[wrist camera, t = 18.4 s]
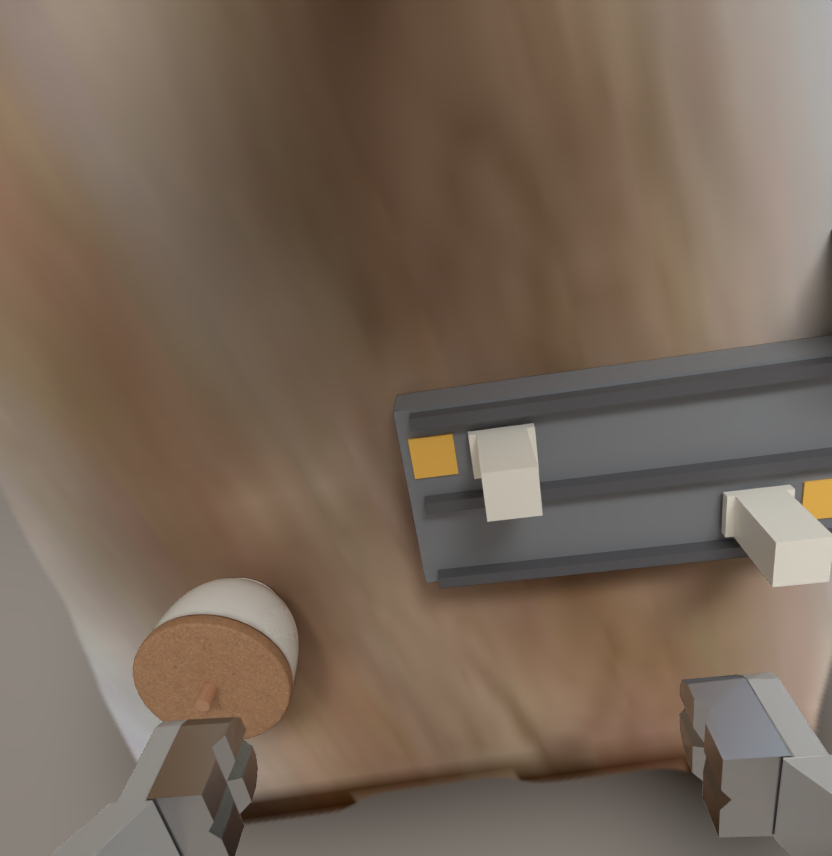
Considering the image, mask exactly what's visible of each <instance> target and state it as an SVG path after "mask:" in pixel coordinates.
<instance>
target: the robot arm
mask: <svg viewBox="0 0 832 856" xmlns="http://www.w3.org/2000/svg"><path fill="white" fill-rule="evenodd" d="M680 698H681V700H682V702H683V705H684V707H685V709H684V710H683V711H682V712H681V713H680V714H679V716H680V732H681V738H682V744H683V748H684V751H685V754H686V757H687V760H688V763H689V765H690V768H691V770H692V773H694V774H695V775H696V776H697V777H699V778H700V779H701V780H702V781H703V800H704V802H705V804H706V807H707V810H708V812H709V815H710V817H711V820H712V822H713V824H714V827H715V829H716V832H717V834H718V836H719V837H752V836H774V839H775V840H776V841H777V842H778V843H779V844H780V845H781V846H782V847H783V848H784V849H785V850H786V851H787V852H788V853H789V854H790V855H791V856H832V755H829V754H828V753H827V751H826V750H825V748H824V747H823V745H822V744H821V742H820V740H819V739H818V737H817V736H816V734H815V733H814V731H813V730H812V728H811V727H810V725H809V724H808V722H807V721H806V719H805V718H804V716H803V715H802V713H801V711H800V710H799V708H798V707H797V705H796V704H795V702H794V701H793V699H792V698H791V696H790V695H789V693H788V692H787V690H786V689H785V687H784V686H783V684H782V682H781V681H780V679H779V678H778V676H776V675H775V674H774V673H772V672H766V673H754V674H742V675H728V676H717V677H707V678H696V679H685V680H682V681H681V684H680ZM245 732H246V728H245V726H244V724H243V721H242V719H241V718H240V717H225V718H206V719H187V720H176V721H163V722H162V723H160V724H159V725H158V726H157V727H156V728H155V730H154V732H153V734H152V736H151V737H150V739H149V741H148V743H147V745H146V747H145V749H144V751H143V753H142V755H141V757H140V759H139V761H138V762H137V764H136V766H135V768H134V770H133V772H132V774H131V776H130V778H129V780H128V782H127V784H126V786H125V787H124V790H123V791H122V793H121V795H120V797H119V799H118V801H117V802H116V803H109V804H108V805H107V806H106V807H104V808H103V809H102V810H101V811H100V812H99V813H97V814H96V815H95V816H94V817H93V818H92V819H91V820H89V821H88V822H87V823H86V824H85V825H84V826H83V827H81V828H80V829H79V830H78V831H77V832H76V833H75V834H73V835H72V836H71V837H70V838H69V839H68V840H67V841H65V842H64V843H63V844H62V845H61V846H60V847H59V848H57V849H56V850H55V851H54V852H53V853H52V854H51V855H50V856H235V853H236V850H237V847H238V844H239V841H240V837H241V834H242V831H243V828H244V824H243V821H242V819H241V816H240V813H241V812H242V811H243V810H244V809H245V808H246V807H247V806H248V805H249V804H250V802H251V801H252V798H253V795H254V791H255V788H256V780H257V769H258V768H257V760H256V755H255V752H254V749H253V747H252V746H251V745H250V744H248V743H247V742H246V741H244V740H243V738H244V735H245Z"/></svg>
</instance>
